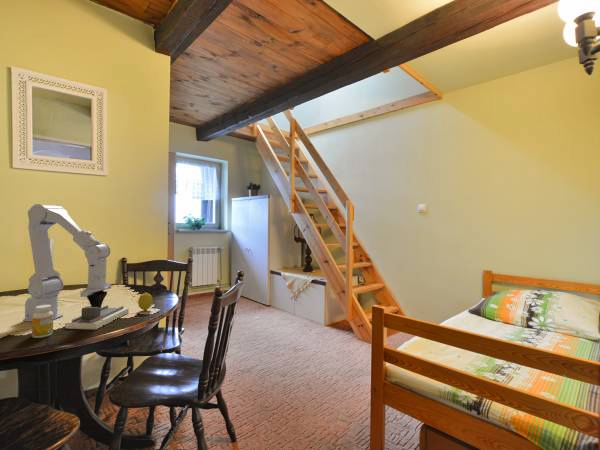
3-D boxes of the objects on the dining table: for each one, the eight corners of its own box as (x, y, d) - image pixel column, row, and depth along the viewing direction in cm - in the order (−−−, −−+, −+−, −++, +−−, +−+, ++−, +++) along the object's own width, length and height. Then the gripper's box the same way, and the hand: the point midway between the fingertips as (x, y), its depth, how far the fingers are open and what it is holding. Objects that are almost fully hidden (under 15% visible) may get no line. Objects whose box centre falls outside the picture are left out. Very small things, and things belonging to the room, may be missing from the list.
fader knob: (81, 319, 112) (81, 308, 112) (87, 316, 115) (87, 305, 115) (94, 319, 112) (95, 308, 112) (100, 317, 115) (100, 306, 115)
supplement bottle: (30, 335, 102) (30, 306, 102) (50, 331, 106) (51, 303, 106) (33, 339, 98) (34, 309, 98) (54, 335, 102) (55, 306, 102)
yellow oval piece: (146, 313, 129) (146, 294, 129) (134, 311, 130) (135, 293, 130) (154, 309, 135) (155, 291, 135) (144, 308, 136) (144, 290, 136)
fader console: (65, 328, 109) (65, 319, 109) (102, 311, 129) (102, 304, 129) (95, 329, 109) (96, 321, 109) (128, 312, 129) (128, 305, 129)
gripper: (94, 279, 109) (93, 317, 109) (119, 273, 124) (118, 306, 124) (75, 278, 109) (73, 316, 109) (101, 272, 124) (100, 305, 124)
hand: (96, 311), depth 117 cm, fingers closed
